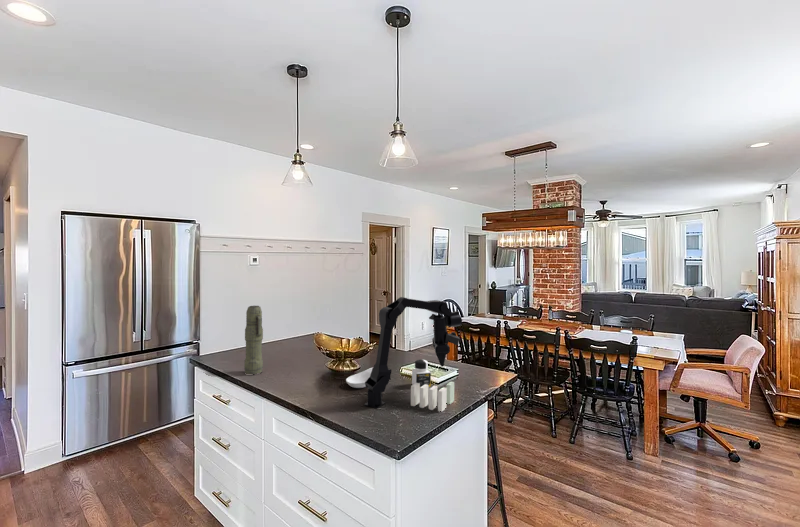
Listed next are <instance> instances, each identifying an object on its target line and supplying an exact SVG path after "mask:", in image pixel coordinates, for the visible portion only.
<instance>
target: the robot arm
mask: <svg viewBox="0 0 800 527" xmlns="http://www.w3.org/2000/svg"><path fill="white" fill-rule="evenodd" d="M406 308H410V309H411V308H412V309H420V310H427V311H429V312H432V313H431V315H430V316H429V317H428V319H429V320H431V321H433V322H432V324H433V331H432V332H433V338H431V339H432V341H431V342H432V346H433V349H434V353H435V354H436V357H437V360H438V362H439V364H440V366H441V367H444V366H445V360H446V356H447V355H448V354H450V353H451V349H450V348H451V347H450V345H449V343H450V344H452V345H453V344H454V345H456V346H458V345H459V343H460V339H461V338H460V337H459V336H458V335H457V333H456V332H455V331H452V332H450V333H448V331H447V327H448V328H453V327H454V328H455V327H460V326H462V325H463V324H462V323H463V319H462V316H461V314H460V312H459V311H458V310H455V311H451V309H450V308H449V306H448V303H447V301H444V300H438V299H434V300H422V299H421V300H420V299H413V298H408V297H403V296H400V297H398V298H397V299H396V300H394V301H392V302H391V303H389V304H388V305H386V306H384V307H382V308H380V310H379V313H378V322H379V325H380V331H379V332H380V333H379V340H378V346H377V347H378V348H377V352H376V362H375V364H374V366H372V367H373V368H372V367H371V368H372V372H371V375H370V377H369V378H368V380H367V381H366V382H365V386H366V387H365V388H366V389H367V402H365V403H364V404H363V405H364V406H366V407H371V408H375V409H379V408H381V407H382V406H383V405H386V401H383V393H384V392H385V390H386V388H387V385H388V384H389V382H390V381H391V380H392V379H391V374H392V369H390V368H389V367H388V366H389V365H388V361H389V355H390V346H391V342H392V341H391V339H392V333H393V329H394V328H395V326H396V324H397V321H398V318H399V317H400V315H401V314H402V313H403V312H404V311H405V309H406Z"/></svg>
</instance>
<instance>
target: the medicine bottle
mask: <svg viewBox="0 0 800 527" xmlns="http://www.w3.org/2000/svg"><path fill="white" fill-rule="evenodd" d="M428 364H429V362H428V360H426V359H417V360H415V362H414V369H411V380H412V381H411V384H412V385H413V384H415V383H420V387H421V386H423V385H425V384H427V385H428V388H431V387H432V386H431V385H432V384H431V382H432V381H431V379H432V378H431V376H432V373H431V371H430V370H428V369H429V366H428Z"/></svg>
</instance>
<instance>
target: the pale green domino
mask: <svg viewBox="0 0 800 527" xmlns="http://www.w3.org/2000/svg"><path fill="white" fill-rule="evenodd" d="M445 388H447V401H446V403H447V404H446V405H449V404H450V405H451V404H452V403H454V402H455V381H449V382H448V383H447V384H446V386H445Z"/></svg>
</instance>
